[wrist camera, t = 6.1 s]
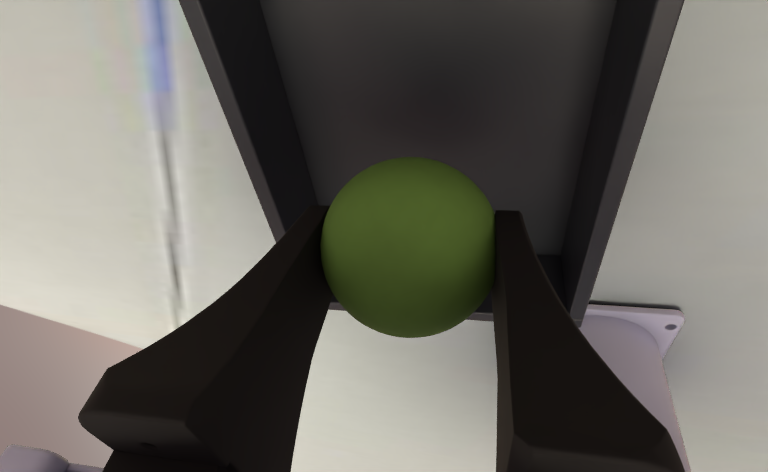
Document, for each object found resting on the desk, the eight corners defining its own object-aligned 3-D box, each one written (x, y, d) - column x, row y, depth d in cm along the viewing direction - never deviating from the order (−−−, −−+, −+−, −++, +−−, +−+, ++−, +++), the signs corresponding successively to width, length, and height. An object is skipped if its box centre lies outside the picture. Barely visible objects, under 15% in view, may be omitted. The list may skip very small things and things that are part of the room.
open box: (570, 255, 22) (581, 328, 19) (324, 244, 25) (301, 308, 22) (672, -164, 11) (728, -134, 9) (218, -110, 14) (148, -73, 11)
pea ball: (496, 246, 16) (496, 380, 13) (356, 240, 17) (320, 363, 14) (506, 119, 13) (509, 258, 9) (328, 121, 14) (272, 247, 10)
